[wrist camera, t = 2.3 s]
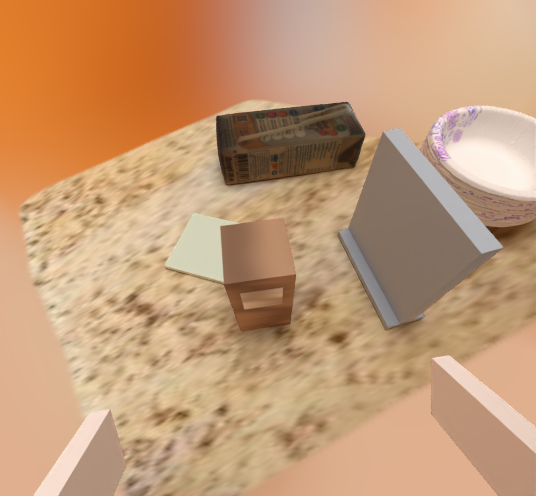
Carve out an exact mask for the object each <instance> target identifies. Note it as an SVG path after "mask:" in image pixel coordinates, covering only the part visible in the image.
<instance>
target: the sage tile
mask: <svg viewBox="0 0 536 496" xmlns="http://www.w3.org/2000/svg"><path fill="white" fill-rule="evenodd" d="M232 224H240V223H236V222H232V221H228V220H223V219H219V218H215V217H210V216H206V215H202V214H197V213H193V215H192V217H191V219H190V221H189V222H188V224H187V226H186V228H185V229H184V231H183V233H182V235H181V236H180V238H179V240H178V242H177V244H176V245H175V247H174V249H173V251H172V252H171V254H170V256H169V258H168V260H167V261H166V263H165V265H164V266H165V268H167V269H170V270H174V271H178V272H181V273H185V274H189V275H192V276H196V277H200V278H203V279H207V280H211V281H214V282H218V283H222V284H224V278H223V263H222V247H221V231H220V226H225V225H232Z"/></svg>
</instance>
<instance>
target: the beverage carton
mask: <svg viewBox="0 0 536 496" xmlns="http://www.w3.org/2000/svg"><path fill="white" fill-rule="evenodd" d="M216 133H217V147H218V155H219V160H220V165H221V169H222V173H223V176H224V180H225V183H226V185H228V184H237V183H244V182H251V181H259V180H266V179H273V178H280V177H288V176H296V175H303V174H310V173H318V172H325V171H332V170H337V169H344V168H350V167H355V164H356V162H357V160H358V158H359V154H360V151H361V147H362V144H363V141H364V138H365V132H364V130H363V128H362V127H361V125H360V123H359V121H358V119H357V117H356V115H355V113H354V112H353V109H352V107H351V105H350V104H349V103H348V102H341V103H332V104H320V105H310V106H301V107H291V108H281V109H272V110H262V111H254V112H243V113H235V114H227V115H221V116H217V117H216Z"/></svg>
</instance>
